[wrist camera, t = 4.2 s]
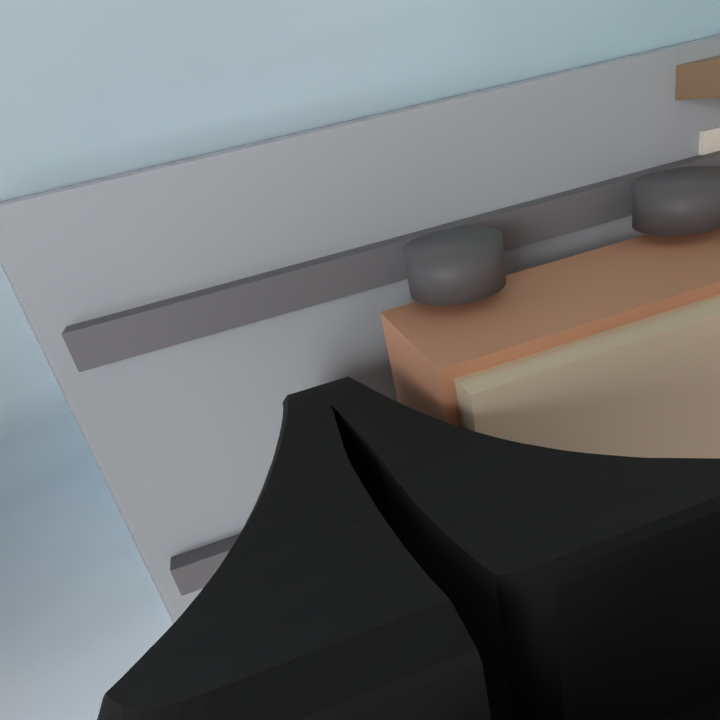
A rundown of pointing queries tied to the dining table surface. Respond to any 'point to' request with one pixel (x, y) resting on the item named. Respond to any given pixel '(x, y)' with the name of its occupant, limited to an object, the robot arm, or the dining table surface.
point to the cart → (574, 332)
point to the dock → (312, 269)
